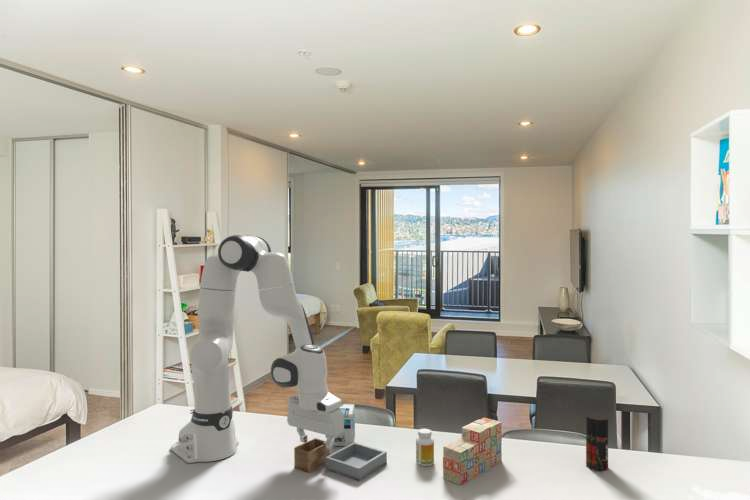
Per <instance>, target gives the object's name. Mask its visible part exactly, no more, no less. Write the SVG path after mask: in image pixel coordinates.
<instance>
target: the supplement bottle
mask: <svg viewBox="0 0 750 500" xmlns="http://www.w3.org/2000/svg"><path fill="white" fill-rule="evenodd" d="M432 433H433V432H432V430H431V429H428V428H420V429H418V433H417V435H418V436H417V438H416V440H415V454H416V455H415V462H416V464H417V465H419V466H422V467H430V466H432V465H434V464H435V463H434V462H435V442H434V441H435V439H434V438H433V437H432V435H433V434H432Z"/></svg>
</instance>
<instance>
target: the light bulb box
mask: <svg viewBox="0 0 750 500" xmlns="http://www.w3.org/2000/svg"><path fill="white" fill-rule="evenodd" d="M355 406H356V405H355V404H354V403H353V404H351V403H350V404H349V403H348V404H347V403H342V406H341V407H339V408H340V409H341V410H342V413H343V420H344V431H343V433H342V434H341V435H339V436H337V437H333V447H346V446H348V445H350V444H352V443H354V442H355V437H356V416H355V415H356V407H355Z"/></svg>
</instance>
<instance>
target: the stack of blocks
mask: <svg viewBox="0 0 750 500" xmlns="http://www.w3.org/2000/svg"><path fill="white" fill-rule="evenodd" d="M502 436H503V435H502V422H501V421H498V420H496V419H491V418H487V417H482V418H480V419H477V420H475V421H473V422H470V423H469V424H466V425H464V426H462V427H461V437H460V438H458V439H456V440H454V441H452V442H449V443H447V444H445V445H444V446H443V452H442V453H443V455H442V456H443V457H442V475H443V476H442V479H445V480H447V481H450V482H452V483H454V484H457V485H459V486H461V485H463V484H465V483H466V482H469V481H470V479H471V480H472V479H473V478H475V476H476V477H478V476H479V475H480V473H481V474H482V473H484V472H486V471H487V470H489V469H491V468H493V467H494V466H497V465H498V464H500V463H501V462H502V455H503V453H502V441H503V440H502ZM485 470H486V471H485Z"/></svg>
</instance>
